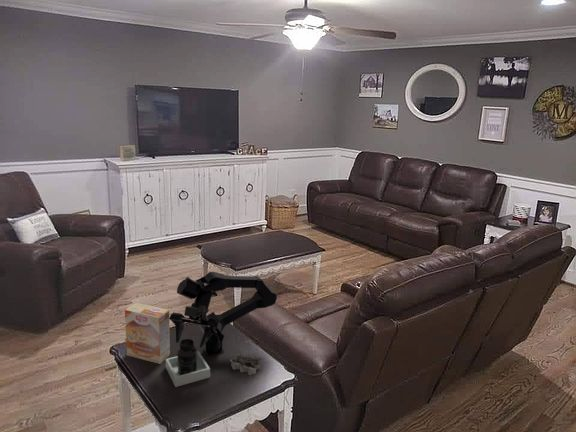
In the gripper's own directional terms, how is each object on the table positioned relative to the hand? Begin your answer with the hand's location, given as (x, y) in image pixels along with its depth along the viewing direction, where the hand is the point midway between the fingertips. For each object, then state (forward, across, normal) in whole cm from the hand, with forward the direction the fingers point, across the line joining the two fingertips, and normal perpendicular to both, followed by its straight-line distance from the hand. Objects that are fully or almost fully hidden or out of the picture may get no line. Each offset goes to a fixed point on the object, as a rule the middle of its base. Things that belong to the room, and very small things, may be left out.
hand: (188, 345), depth 156 cm
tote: (+8, 0, +8) cm, 11 cm away
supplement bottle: (+8, 0, +7) cm, 10 cm away
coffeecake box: (+4, -19, +12) cm, 23 cm away
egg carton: (+2, +19, +14) cm, 24 cm away
